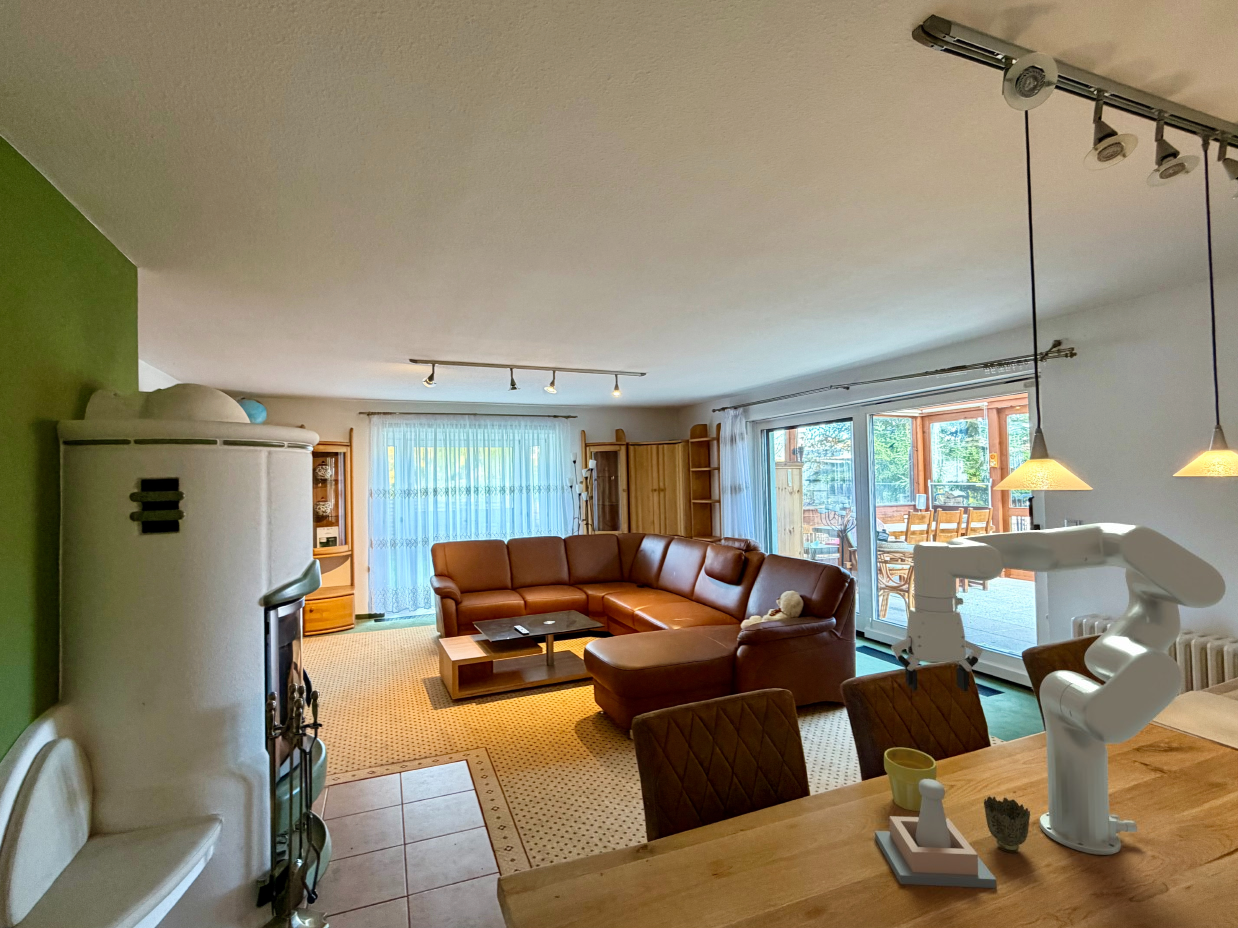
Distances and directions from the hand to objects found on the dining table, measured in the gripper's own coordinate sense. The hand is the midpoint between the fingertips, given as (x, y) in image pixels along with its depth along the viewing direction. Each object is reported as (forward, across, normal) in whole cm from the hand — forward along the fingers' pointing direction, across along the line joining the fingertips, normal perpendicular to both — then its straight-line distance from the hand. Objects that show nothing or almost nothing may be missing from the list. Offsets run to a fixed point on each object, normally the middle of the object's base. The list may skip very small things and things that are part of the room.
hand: (937, 688), depth 119 cm
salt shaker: (+27, +6, +10) cm, 29 cm away
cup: (+28, -10, +5) cm, 31 cm away
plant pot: (+28, +2, -10) cm, 30 cm away
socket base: (+28, +6, +10) cm, 31 cm away
